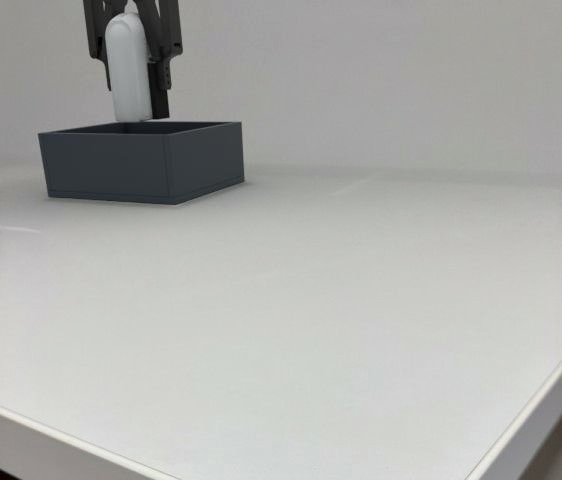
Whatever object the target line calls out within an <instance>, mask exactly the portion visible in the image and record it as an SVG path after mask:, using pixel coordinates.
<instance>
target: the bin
mask: <svg viewBox="0 0 562 480" xmlns="http://www.w3.org/2000/svg"><path fill="white" fill-rule="evenodd" d="M242 123H243V122H242V121H211V120H209V121H207V120H206V121H205V120H204V121H197V120H196V121H195V120H194V121H192V120H191V121H190V120H189V121H184V120H180V121H179V120H174V121H173V120H162V121H161V120H147V121H142V122H138V123H120V122H119V121H114V122H108V123H101V124H100V123H99V124H92V125H87V126H85V125H84V126H78V127H71V128H65V129H58V130H57V129H56V130H51V131H45V132H44V131H43V132H38V133H37V137H38V144H39V150H40V155H41V156H40V157H41V162H42V168H43V173H44V179H45V185H46V192H47V197H48V198H49V197H50V198H63V199H66V198H67V199H81V200H94V201H95V200H97V201H111V202H129V203H142V204H143V203H145V204H160V205H174V206H176V205H178V204H181V203H185V202H188V201H190V200H193V199H196V198H198V197H199V198H200V197H202V196H205V195H207V194H210V193H213V192H216V191H220V190H223V189H225V188H226V189H227V188H228V187H230V186H234V185H237V184H240V183H243V182H245V181H246V179H245V162H244V160H245V159H244V144H243V142H244V141H243V124H242Z"/></svg>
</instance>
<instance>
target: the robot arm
mask: <svg viewBox="0 0 562 480" xmlns="http://www.w3.org/2000/svg"><path fill="white" fill-rule="evenodd" d="M132 2H133V3H134V4H135V6H136V9H137V13H139V16H140V20H141V23H142V25H143V28H144V32H145V36H146V40H147V43H148V46H149V49H150V53H151V56H152V57H150V58H149V60H150V61H151V62H155V63H147V68H148V77H149V87H150V96H151V106H152V115H153V119H152V121H160V120H164V119H170V118H171V116H170V104H169V94H168V91H170V90H172V86H173V85H172V84H173V83H172V75H171V74H172V73H171V61H172V59H174V58H176V57H178V56H181V55H182V54H183V53H184V45H183V36H182V25H181V17H180V6H179V5H180V4H179V0H157V2H158V6H157V3H156V0H132ZM128 3H129V0H82V5H83V12H84V13H83V14H84V21H85V22H84V23H85V29H86V30H85V31H86V38H87V45H88V54H89V57H90V58H91V59H93V60H97V61H100V62H102V63H103V65H104V70H105V71H104V72H105V78H106V86H107V89H108V92H112V90H111V82H110V73H109V65H108V56H107V47H106V38H105V33H106V28H107V26H108V24H109V22H110V21H111V20H112V19H113V18H114V17H116V16H117V15H119V14H122V13H126V12H125V11H126V6H127V5H128Z"/></svg>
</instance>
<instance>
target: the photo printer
mask: <svg viewBox="0 0 562 480" xmlns="http://www.w3.org/2000/svg"><path fill="white" fill-rule="evenodd" d="M105 38H106V47H107V56H108V65H109V73H110V82H111V90H112V91H111V100H112V105H113V115H114V118H115V122H120V123H138V122H142V121H153V115H152V106H151V96H150V87H149V77H148V68H147V63H155V62H151V61H150V60H149V58H150V57H152V56H151V53H150V49H149V46H148V43H147V40H146V36H145V32H144V28H143V25H142V23H141V20H140V16H139V13H138V12H134V11H132V12H125V13H122V14H119V15H117V16H116V17H114V18H113V19H112V20H111V21H110V22H109V24H108V26H107V28H106V33H105Z"/></svg>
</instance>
